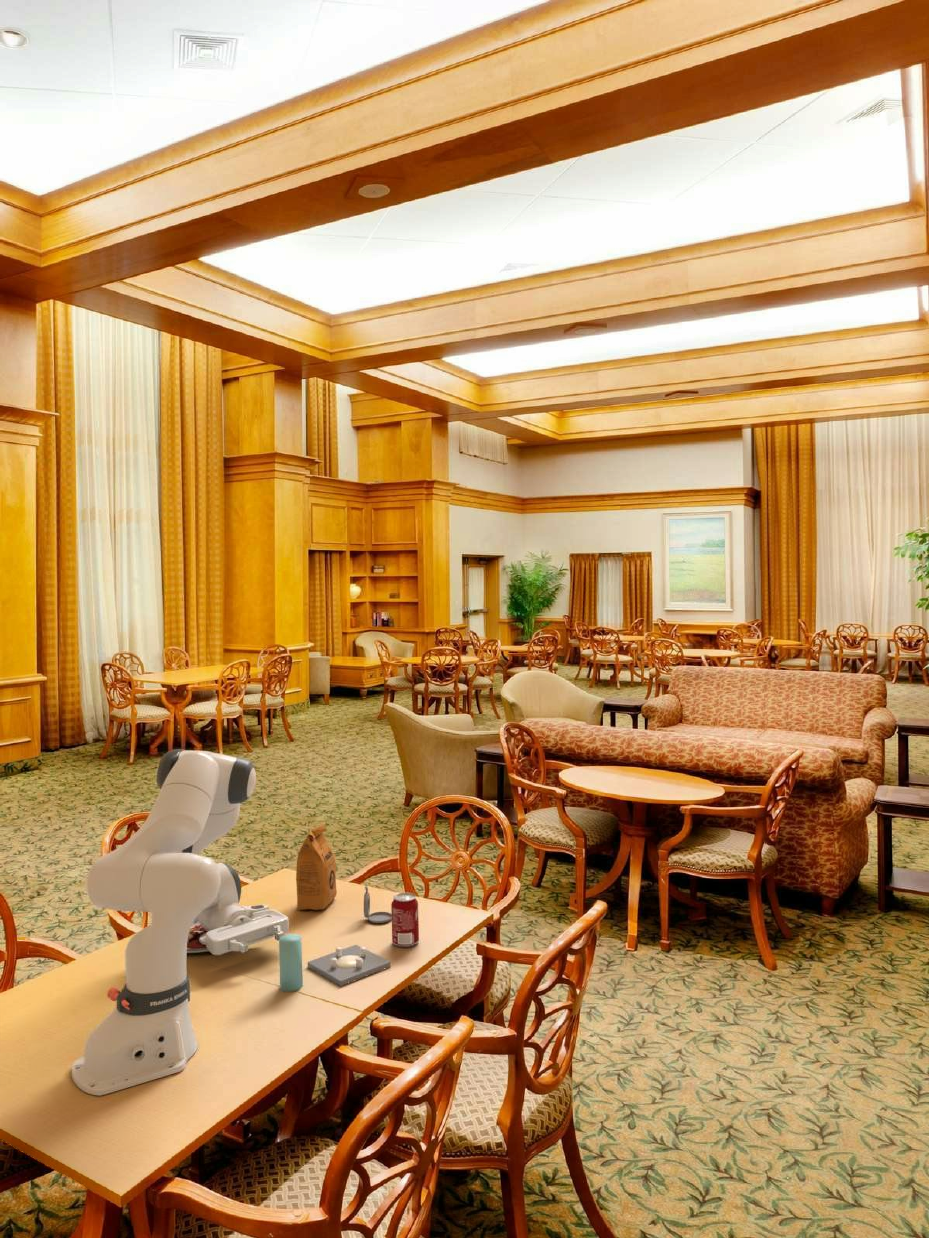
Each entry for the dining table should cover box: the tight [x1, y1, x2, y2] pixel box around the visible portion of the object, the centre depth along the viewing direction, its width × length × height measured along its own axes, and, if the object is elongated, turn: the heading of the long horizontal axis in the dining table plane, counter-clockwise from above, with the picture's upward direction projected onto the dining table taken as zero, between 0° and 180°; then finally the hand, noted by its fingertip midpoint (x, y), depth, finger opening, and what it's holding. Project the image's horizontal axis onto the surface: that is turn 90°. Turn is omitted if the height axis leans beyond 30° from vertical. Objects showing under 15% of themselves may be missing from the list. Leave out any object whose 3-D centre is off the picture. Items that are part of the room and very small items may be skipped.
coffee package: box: [295, 824, 337, 911], centre depth 240 cm, size 10×12×22 cm
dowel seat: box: [307, 944, 391, 987], centre depth 199 cm, size 14×14×3 cm
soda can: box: [391, 892, 420, 948], centre depth 212 cm, size 7×7×12 cm
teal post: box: [278, 933, 304, 993], centre depth 189 cm, size 5×5×11 cm
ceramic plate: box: [187, 919, 210, 954], centre depth 219 cm, size 26×26×3 cm
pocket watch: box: [363, 883, 392, 924], centre depth 228 cm, size 8×8×10 cm
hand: (263, 942), depth 199 cm, fingers open, 8 cm apart
